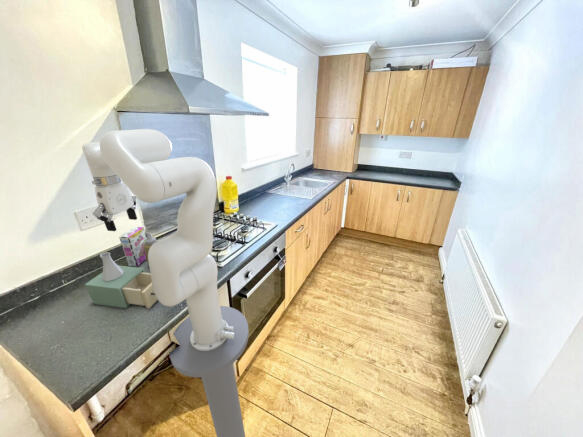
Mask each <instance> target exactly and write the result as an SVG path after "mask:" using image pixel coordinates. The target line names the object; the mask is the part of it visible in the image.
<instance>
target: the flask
mask: <svg viewBox="0 0 583 437" xmlns="http://www.w3.org/2000/svg"><path fill="white" fill-rule="evenodd" d="M99 257H100V258H101V260H102V272H103V274H102V280H104V281H106V282H107V281H111V280H115V279H117V278H119V277H120V276H122V275H123V273H124V271H123V270H122V269H121V268H120V267H119V266H120V265H119V266H118V263H116V262H115V261H114V259H112V256H111V252H109V251H107V252H103V253H101V254H99Z"/></svg>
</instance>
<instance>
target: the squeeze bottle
mask: <svg viewBox="0 0 583 437" xmlns="http://www.w3.org/2000/svg"><path fill="white" fill-rule="evenodd" d="M146 238H147V239H146V240H145V245H144V250H145V256H146V260H145V262H146V263H147V264H148V265H149V262H148V252H149V249H150V247H151V246H152V245H153V244H154V243H155V242H157V241H158V240H157V238H156V237H154V236H153V235H152V234H151V232H150V231H147V232H146Z"/></svg>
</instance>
